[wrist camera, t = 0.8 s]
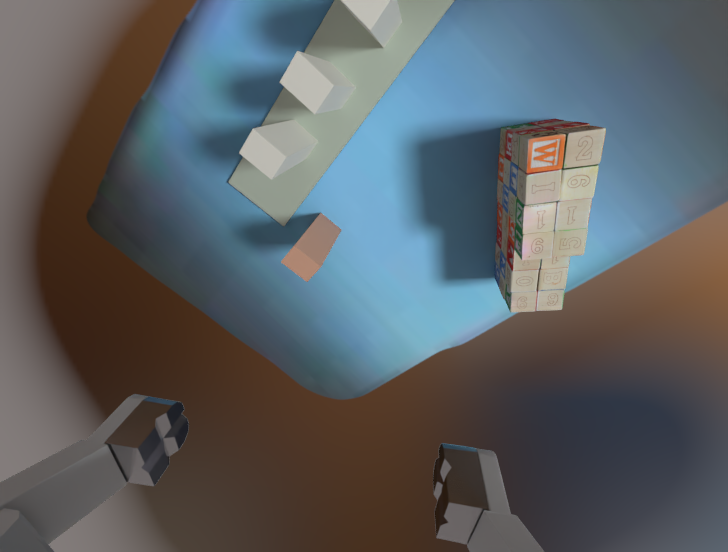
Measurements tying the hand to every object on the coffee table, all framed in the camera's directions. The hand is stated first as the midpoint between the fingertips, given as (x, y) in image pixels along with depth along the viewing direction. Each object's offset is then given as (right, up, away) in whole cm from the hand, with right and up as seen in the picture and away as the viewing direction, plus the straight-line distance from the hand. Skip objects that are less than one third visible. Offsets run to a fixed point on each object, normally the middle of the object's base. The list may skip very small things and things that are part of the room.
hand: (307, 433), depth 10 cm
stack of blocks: (+23, +14, +34) cm, 43 cm away
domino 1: (-7, +23, +33) cm, 40 cm away
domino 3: (-4, +12, +39) cm, 41 cm away
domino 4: (+3, +33, +25) cm, 42 cm away
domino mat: (-2, +28, +29) cm, 41 cm away
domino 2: (-2, +28, +29) cm, 40 cm away
